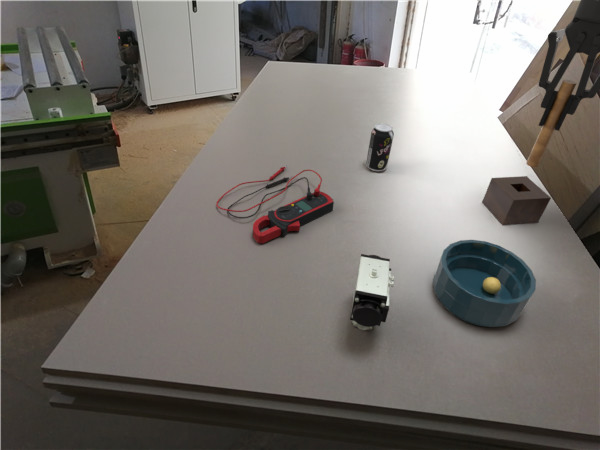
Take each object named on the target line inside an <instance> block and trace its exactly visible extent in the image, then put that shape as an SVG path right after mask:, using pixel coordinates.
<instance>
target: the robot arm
mask: <svg viewBox="0 0 600 450" xmlns="http://www.w3.org/2000/svg"><path fill="white" fill-rule="evenodd" d="M564 36H565V39H566V41H567V45H568V48H569V50H568V52H567V53H566V55H565V57H564V59H563V60H562V62H561V64H560V66H559V68H558V69H557V71H556V73H555V75H554V76H553V78H552V79H551V81H550V80H549V79H550V74H551V71H552V68H553V65H554V60H555V57H556V54H557V51H558V47H559V43H561V41H562V40H563V38H564ZM547 44H548V48H547V52H546V54H545V59H544V63H543V66H542V70H541V74H540V78H539V81H538V87H539V88H542V89H544V90H545V93H544V96H543V98H542V100H541V103H540V108H541V109H544V111H543V113H542V116H541V118H540V121H539V123H538V126H539V127H542V126H543V124H544V122H545V120H546V118H547V115H548V113H549V111H550V109H551V106H552V104H553V102H554V100H555V97H556V95H557V93H558V90H556V88H557V87H558V85H559V83H560V82H561V80H562V79H563V76H564V75H565V73H566V71H567V70H568V68H569V66H570V65H571V63H572V61H573V59H574V57H575V56H576V54H584V55H586V56H587V57H586V60H585V64H584V66H583V70H582V73H581V77H580V80H579V82H578V85H577V88H576V91H575V94H572V95H571V96H570V98H569V100H568V102H567V104H566V106H565V109H564V111H563V113H562V115H561V117H560V119H559V122H558V124H557V126H556V128H555V131H560V129H561V127H562V125H563V123H564V121H565V119H566V116H567V115H570V116H573V115H574V114H575V113H576V111H577V109H578V107H579V105H580V104H581V103H580V102H581V101H582V100H583V99H593V98H594V97H596V95H597V93H598V92H599V91H600V74H599V75H598V76H597V78H595V81H594V83H593V84H592V85H591V87H590V88H589V89H586V88H587V85H588V83H589V79H590V77H591V74H592V71H593V68H594V65H595V62H596V59H597V56H598V54H600V0H580V1H579V4H578V6H577V8H576V10H575V12H574V14H573V18H572V20H571V21H570V23H568V25H566V27H565V28H561V29H558V30H556V29H554V30H552V31H550V32H549V33H548V35H547Z"/></svg>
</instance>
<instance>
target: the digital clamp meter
mask: <svg viewBox="0 0 600 450" xmlns="http://www.w3.org/2000/svg"><path fill="white" fill-rule="evenodd" d="M287 166H288V165H287V164H286V165H285V166H282V167H280V168H279V169H278V170H277V171H276V172H275V173H273V174H272V175H271V176H269V179H264V180H253V181H246V182H241V183H239V184H237V185H235V186H233V187H232V188H231V189H229V190H228V191H226V192H225V193H224V194H222V195H221V196H220V197H219V198H218V200H217V201H216V204H215V206H216V207H217V208H218V209H220V210H223V211H227V213H228V215H230V216H231V217H234V218H235V219H236V218H237V219H248V218H252V217H253V216H256V214H258V212H259V211H260V208H261V206H262V205H263V204H264V203H267V202H269V201H270V200H272V199H275V198H276V197H278V196H279V195H281V194H283V193H284V192H286V190H287V189H288V188H290V187H291V186H292V185H294V184H296V183H297V182H299V181H301V180H304V179H306V182H307V192H306V195H305V196H302V197H300V198H298V199H296V200H293V201H292V202H289V203H287V204H285V205H283V206H279V207H278V208H277V209H275V210H273V209H271V210H268V211H267V214H265V215H262V216H261V217H259V218H257V219H255V221H254V222H253V224H252V235H253V239H254V240H255V242H256V243H258V244H265V243H266V242H269V241H271V240H274V239H275V238H278V237H280V236H281V237H285V236H286V235H287V234H288V233H289V232H298V231H299V232H300V230H301V229H300V228H301V227H302V226H305V225H306V224H308V223H310V222H312V221H314V220H316V219H319V218H321V217H322V216H324V215H327V214H328V213H330V212H332V211H334V200H333V198H332V197H331V196H330V195H329V194H327V193H326V192H324V191H321V190H320V189H321V187H322V182H323V178H322V176H321V174H319V173H318V172H317V171H315V170H313V169H303V170H302V171H300V172H298V173H297V174H296V175H294V176H293V175H292V176H288V177H283V178H281V179H279V180H276V181H274V182H272V183H271V182H270V183H269V184H268V183H267V184H266V185H264V186H263V187H261V188H260V189H257V190H255V191H254V192H250V193H249V194H246V195H244V196H243V197H241V198H239V199H238V200H236V201H235V202H233V203H232V204H230V206H228V207H227V208H223V207H222V206H221V207H220V206H219V202H220V200H222V198H223V197H225V196H226V195H227V194H228V193H230V192H231V191H233V190H234V189H236V188H237V187H239V186H242V185H245V184H253V183H255V184H256V183H263V182H269V181H273V180H274V179H275V178H276V177H277V176H278V175H280V174H281V173H283V172H284V171H285V170H286V168H287ZM308 171H309V172H312V173H314V174H316V175H317V176H318V177H319V179H320V182H319V184H317V187H316V188H315V189H314V190H313V191H314V192H312V191H311V188H310V182H309V179H308V178H307V177H305V176H304V177H301V178H299V179H297V180H295V181H294V182H292V183H290V182H291V181H292V180H293V179H295V178H296V177H298V176H300V175H301V174H302V173H304V172H308ZM284 182H287V183H286V186H284V187H283V188H280V189H277V190H276V191H272V192H270V193H269V192H268V193H266V194H264V196H263V198H262V199H261V201H260V202H259V203H257V204H255V205H253V206H251V207H249V208H247V209H243V210H242V209H241V210H237V209H236V210H235V209H230V208H231V207H232V206H234V205H236V204H237V203H238V202H240V201H241V200H243V199H244V198H247V197H248V196H251V195H255V194H256V193H257V192H260V191H261V190H264V189H270V188H271V187H273V186H277V185H280V184H281V183H284ZM289 183H290V184H289ZM278 192H279V193H278ZM275 193H276V195H273V196H272V197H269V198H267V196H269V195H272V194H275ZM265 198H267V199H266V200H265ZM256 207H258V208H257V210H256V211H255V212H254V213H253V214H251V215H248V216H237V215H234V214H232V212H234V213H243V212H244V213H245V212H248V211H251V210H253V209H255V208H256ZM267 226H269V227H270V228H268V229H266V230H264V231H261V229H263V228H265V227H267Z"/></svg>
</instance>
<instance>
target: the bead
mask: <svg viewBox="0 0 600 450" xmlns="http://www.w3.org/2000/svg"><path fill="white" fill-rule="evenodd" d="M483 288H484V290H485V291H486V292H488V293H491V294H494V293H497V292H498V291H499V290H500V288H501V283H500V281H499V280H498V279H496V278H494V277H488V278H486V279H485V280H484V281H483Z"/></svg>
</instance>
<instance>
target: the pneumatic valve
mask: <svg viewBox="0 0 600 450" xmlns="http://www.w3.org/2000/svg"><path fill="white" fill-rule="evenodd" d="M390 261H391V259H390V258H387V257H382V256H379V255H376V254H364V253H361V254H360V257H359V263H358V270H357V273H356V278H355V285H354V290H353V291H354V292H353V297H352V304H351V310H350V317H349V320H350V321H352V323H351V324H352V326H353V327H355V328H356V327H357V329H359V330H361V331H367V330H369V331H371V330H373V329H374V327H376V326H377V327H380V326H381V324H382V323H386V321H387V318H388V314H389V311H390V301H391V300H390V297H391V296H390V295H391V288H394V285H395V282H394V281H395V276H394V275H392V268H390V263H391V262H390Z"/></svg>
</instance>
